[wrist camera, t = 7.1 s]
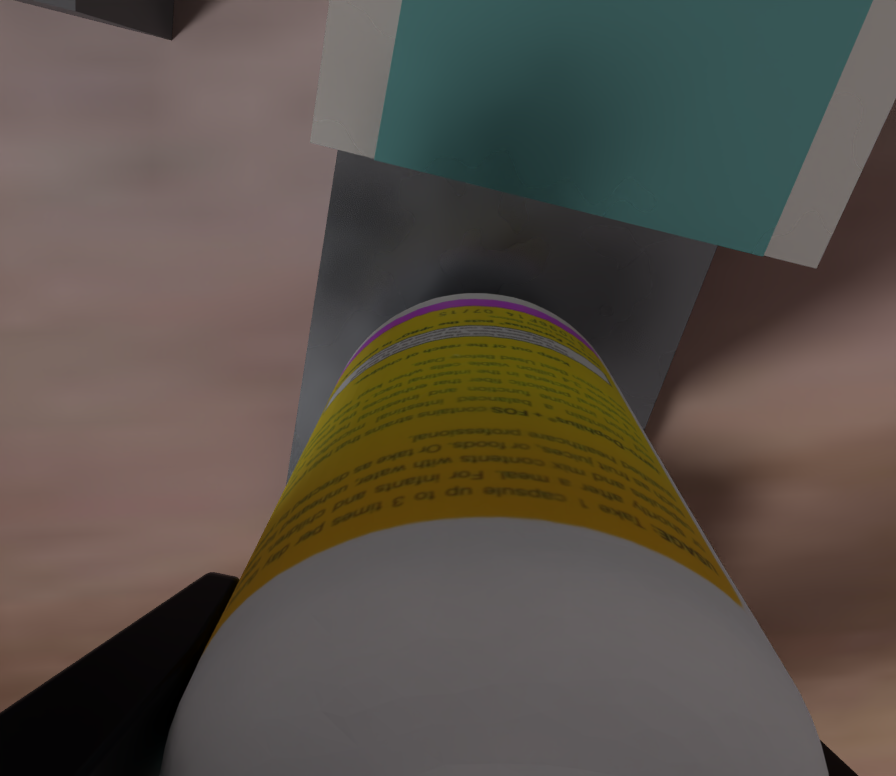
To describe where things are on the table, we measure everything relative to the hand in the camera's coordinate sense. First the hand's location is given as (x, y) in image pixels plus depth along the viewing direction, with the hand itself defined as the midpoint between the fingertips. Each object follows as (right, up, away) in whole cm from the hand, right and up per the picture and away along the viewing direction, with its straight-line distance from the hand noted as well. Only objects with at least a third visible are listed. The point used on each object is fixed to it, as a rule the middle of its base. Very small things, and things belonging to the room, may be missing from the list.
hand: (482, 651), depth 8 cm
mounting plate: (0, +4, +9) cm, 10 cm away
